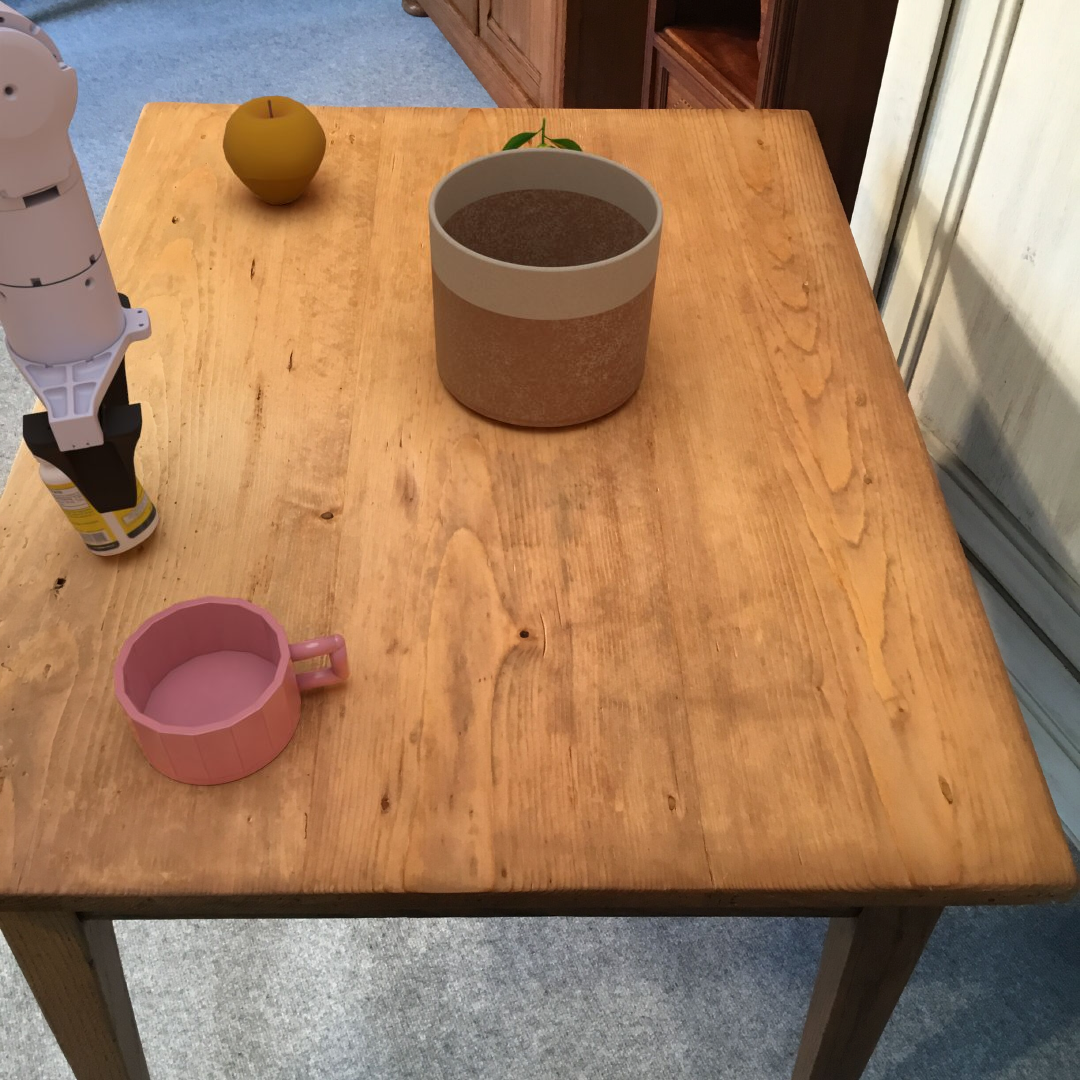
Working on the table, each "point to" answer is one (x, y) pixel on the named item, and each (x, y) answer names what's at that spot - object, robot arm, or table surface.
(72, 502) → the supplement bottle
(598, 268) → the planter
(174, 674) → the pink mug
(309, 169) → the apple
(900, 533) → the table surface
